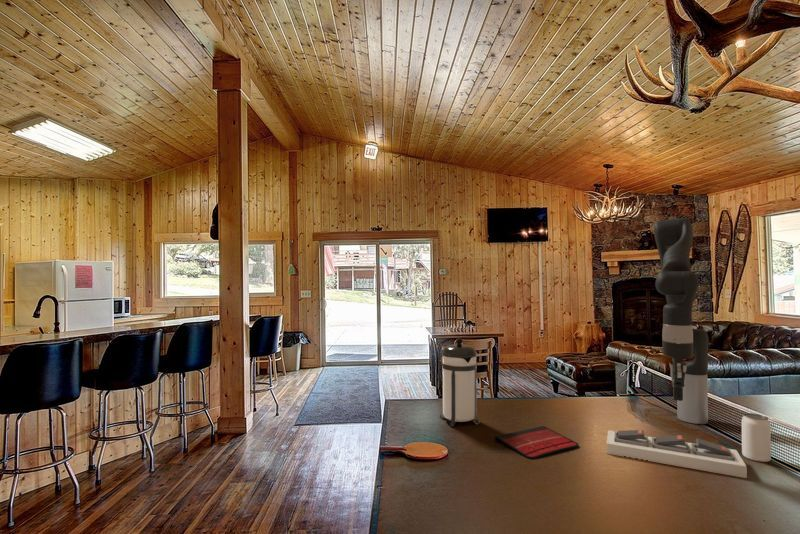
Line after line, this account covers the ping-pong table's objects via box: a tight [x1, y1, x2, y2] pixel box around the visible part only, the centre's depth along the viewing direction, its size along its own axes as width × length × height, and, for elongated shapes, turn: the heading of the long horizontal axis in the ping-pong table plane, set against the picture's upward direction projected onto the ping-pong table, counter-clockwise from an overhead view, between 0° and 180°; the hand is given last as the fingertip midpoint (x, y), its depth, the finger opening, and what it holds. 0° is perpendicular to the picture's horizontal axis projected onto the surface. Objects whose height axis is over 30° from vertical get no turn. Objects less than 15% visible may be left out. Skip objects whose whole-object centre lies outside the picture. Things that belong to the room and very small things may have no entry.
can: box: [741, 412, 772, 463], centre depth 125 cm, size 6×6×12 cm
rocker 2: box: [655, 434, 686, 446], centre depth 125 cm, size 4×7×1 cm, turn 62°
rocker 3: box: [695, 437, 729, 456], centre depth 121 cm, size 4×7×1 cm, turn 62°
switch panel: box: [606, 429, 748, 479], centre depth 125 cm, size 12×33×4 cm, turn 62°
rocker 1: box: [617, 429, 646, 439], centre depth 130 cm, size 4×7×1 cm, turn 62°
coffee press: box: [439, 337, 481, 428], centre depth 157 cm, size 17×16×30 cm
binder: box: [494, 425, 579, 460], centre depth 135 cm, size 16×2×21 cm
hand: (678, 399), depth 125 cm, fingers closed
